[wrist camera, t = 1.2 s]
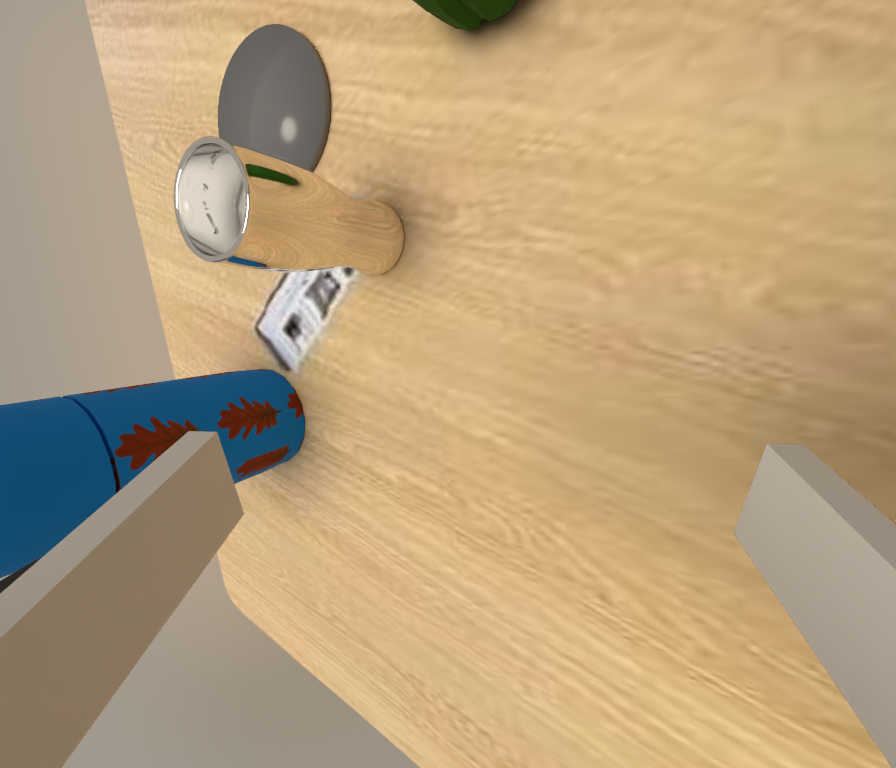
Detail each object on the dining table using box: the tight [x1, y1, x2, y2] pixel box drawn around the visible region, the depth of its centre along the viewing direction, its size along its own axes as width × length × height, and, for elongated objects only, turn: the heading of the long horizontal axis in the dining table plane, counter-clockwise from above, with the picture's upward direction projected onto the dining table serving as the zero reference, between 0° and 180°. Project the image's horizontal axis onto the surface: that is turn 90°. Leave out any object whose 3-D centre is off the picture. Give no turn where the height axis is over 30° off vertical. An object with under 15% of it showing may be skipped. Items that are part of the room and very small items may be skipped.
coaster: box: [218, 24, 331, 172], centre depth 39 cm, size 14×14×1 cm
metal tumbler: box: [174, 136, 404, 275], centre depth 30 cm, size 7×7×15 cm
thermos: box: [0, 369, 305, 578], centre depth 35 cm, size 11×11×25 cm
